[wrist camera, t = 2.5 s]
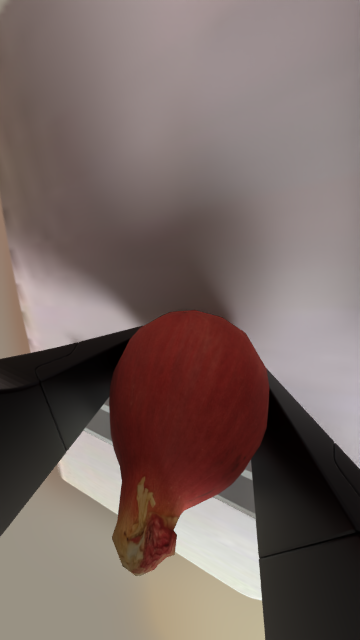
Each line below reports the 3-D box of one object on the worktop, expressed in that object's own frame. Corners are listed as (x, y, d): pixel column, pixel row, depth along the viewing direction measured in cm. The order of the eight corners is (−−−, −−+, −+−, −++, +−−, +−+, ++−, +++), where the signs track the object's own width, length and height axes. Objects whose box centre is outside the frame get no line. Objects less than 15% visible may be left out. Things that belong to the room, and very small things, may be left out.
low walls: (285, 437, 11) (303, 496, 8) (252, 469, 14) (258, 520, 11) (101, 362, 14) (71, 389, 11) (104, 400, 16) (81, 429, 14)
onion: (233, 382, 10) (243, 660, 3) (157, 356, 11) (43, 525, 4) (269, 304, 8) (716, 904, 1) (164, 280, 9) (-95, 405, 2)
